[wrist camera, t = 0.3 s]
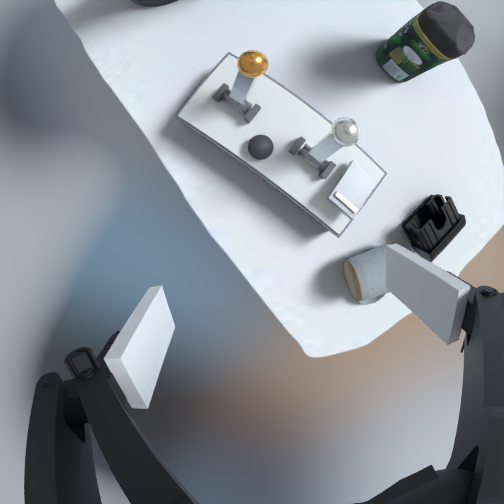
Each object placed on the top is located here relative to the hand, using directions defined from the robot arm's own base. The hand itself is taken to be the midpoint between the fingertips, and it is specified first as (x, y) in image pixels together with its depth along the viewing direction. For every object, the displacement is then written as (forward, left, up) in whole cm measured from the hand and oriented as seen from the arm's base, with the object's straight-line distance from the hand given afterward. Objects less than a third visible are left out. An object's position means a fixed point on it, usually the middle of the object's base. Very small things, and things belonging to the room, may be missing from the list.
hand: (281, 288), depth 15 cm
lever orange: (-16, -2, -21) cm, 26 cm away
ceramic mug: (+11, +18, -28) cm, 35 cm away
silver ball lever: (-8, +7, -21) cm, 23 cm away
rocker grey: (-4, +12, -21) cm, 24 cm away
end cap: (+2, +30, -28) cm, 41 cm away
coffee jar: (-28, +26, -28) cm, 47 cm away
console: (-11, +4, -27) cm, 30 cm away
